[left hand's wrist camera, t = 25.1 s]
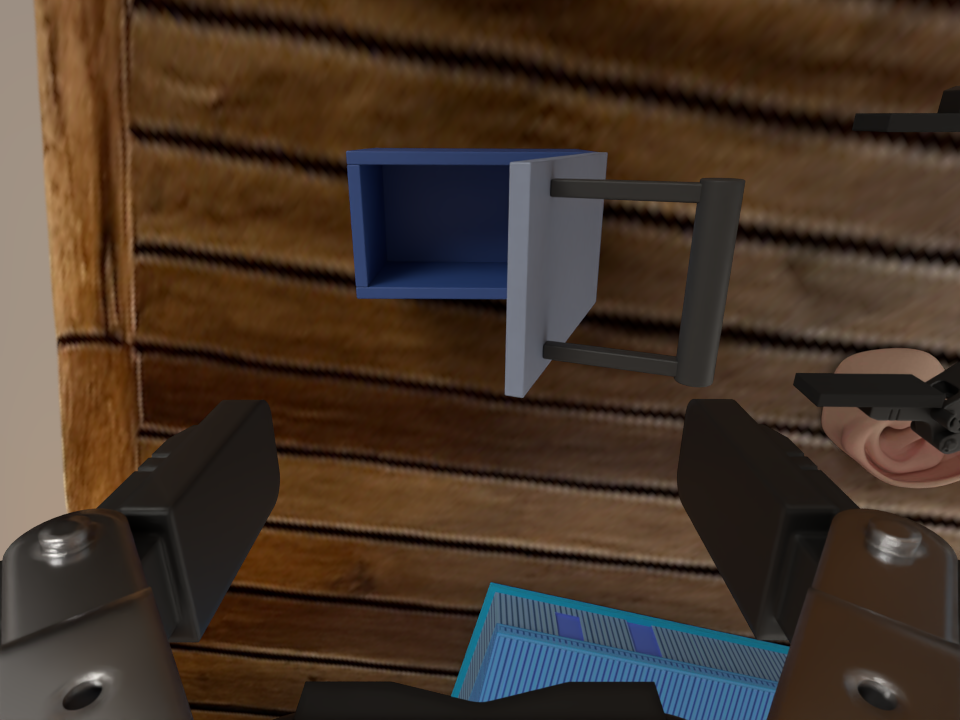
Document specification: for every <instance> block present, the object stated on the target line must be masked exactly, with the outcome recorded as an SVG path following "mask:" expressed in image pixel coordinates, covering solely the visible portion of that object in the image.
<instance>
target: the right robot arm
mask: <svg viewBox="0 0 960 720" xmlns="http://www.w3.org/2000/svg"><path fill="white" fill-rule="evenodd" d="M852 130H854V131H878V132H960V86H955V87H952V88H950V89H947V90H945V91H944V92H943V95H942V99H941V102H940V106H939V109H938V113H867V114H856V115H855V120H854V124H853V128H852ZM793 385H794V386H795V387H796V388H797V389H798V390H799V391H800V392H802V393H803V394H804V395H805V396H806V397H807V398H808V399H809V400H810V401H812V402H813V403H814V404H815V405H816V406H817V407H857V408H859V409H860V410H861V411H862V412H864V413H865V414H866V415H867V416H869V417H870V418H873V419H875V420H878V421H888V420H889V421H895V420H896V421H912V422H911V424H910V428H911V429H912V431H914V432H915V433H916V434H918V435H919V436H920V437H922V438H923V439H924V440H926V441H927V442H928V443H930V444H931V445H932V446H934V447H935V448H936V449H938V450H939V451H940V452H942V453H944V454H952V453H955V452H958V451H960V362H958V363H956V364H955V365H953V366H951V367H950V368H948V369H946V370H945V371H943V372H941V373H940V374H938V375H936V376H935V377H933V378H931V379H930V380H928V381H926V382H924V381H922V380H921V379H919V378H917V377H916V376H914V375H912V374H845V373H796V375H795V379H794V384H793ZM945 399H947V400H945Z"/></svg>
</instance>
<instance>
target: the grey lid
mask: <svg viewBox="0 0 960 720" xmlns="http://www.w3.org/2000/svg"><path fill="white" fill-rule="evenodd" d="M606 165H607V152H593V153H584V154H576V155H567V156H558V157H550V158H541V159H532V160H524V161H515V162H510V178H509V225H508V271H507V318H506V365H505V395H508V396H514V397H520V398H523V397H524V396H525V394H526V393H527V392H528V390H529V389H530V388H531V387H532V385H533V384H534V383H535V381H536V380H537V379H538V377H539V376H540V375H541V373H542V372H543V371H544V369H545V368H546V367H547V365H548V364H549V363H550V362H551V360H556V361H564V362H571V363H578V364H586V365H593V366H600V367H608V368H615V369H622V370H630V371H637V372H644V373H652V374H659V375H666V376H674V379H675V380H676V381H677V382H678V383H681V384H683V385H687V386H691V387H707V386H710V385H711V384H712V383H713V378H714V372H715V366H716V360H717V353H718V347H719V341H720V335H721V329H722V322H723V316H724V310H725V304H726V297H727V291H728V285H729V279H730V273H731V266H732V260H733V254H734V248H735V242H736V235H737V229H738V223H739V217H740V211H741V204H742V198H743V192H744V186H745V180H743V179H733V178H702V179H701V180H700V182H670V181H635V180H605V178H606ZM604 199H611V200H636V201H661V202H686V203H697V207H696V215H695V222H694V230H693V237H692V245H691V252H690V260H689V267H688V274H687V282H686V289H685V297H684V304H683V312H682V319H681V327H680V334H679V341H678V349H677V356H668V355H660V354H652V353H644V352H636V351H628V350H620V349H612V348H604V347H596V346H588V345H580V344H572V343H565V342H566V340H567V339H568V338H569V337H570V335H571V334H572V333H573V331H574V330H575V329H576V327H577V326H578V325H579V323H580V322H581V321H582V319H583V318H584V317H585V315H586V314H587V313H588V311H589V310H590V309H591V308H592V306H593V305H594V304H595V302H596V293H597V281H598V268H599V255H600V242H601V229H602V217H603V204H604Z"/></svg>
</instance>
